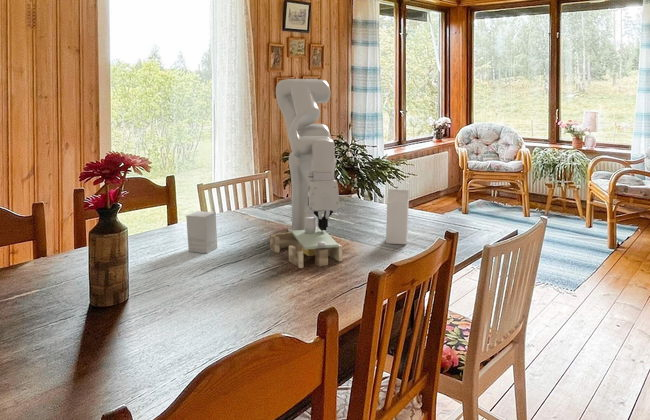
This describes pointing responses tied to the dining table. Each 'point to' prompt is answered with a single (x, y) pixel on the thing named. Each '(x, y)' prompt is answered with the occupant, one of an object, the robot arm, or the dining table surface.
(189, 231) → the supplement box
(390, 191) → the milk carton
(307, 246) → the cover
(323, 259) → the beige notched ring
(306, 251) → the yellow rectangular block
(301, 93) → the robot arm
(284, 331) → the dining table surface
